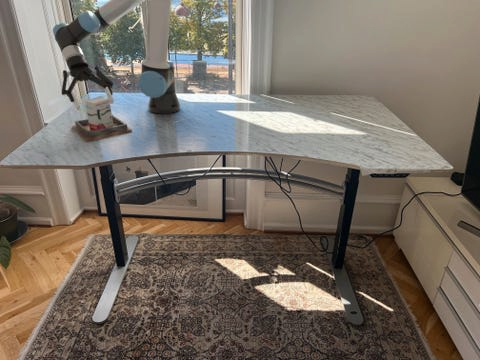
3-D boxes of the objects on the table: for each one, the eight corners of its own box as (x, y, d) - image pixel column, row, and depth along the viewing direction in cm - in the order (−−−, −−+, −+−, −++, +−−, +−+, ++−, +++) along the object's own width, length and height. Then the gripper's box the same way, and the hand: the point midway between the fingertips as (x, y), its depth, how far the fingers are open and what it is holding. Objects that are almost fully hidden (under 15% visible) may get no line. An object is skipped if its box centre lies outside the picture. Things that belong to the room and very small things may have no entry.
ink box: (98, 131, 136) (93, 102, 131) (89, 129, 138) (83, 100, 132) (114, 125, 143) (109, 97, 137) (105, 123, 145) (100, 95, 139)
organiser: (114, 119, 152) (113, 113, 151) (131, 131, 140) (131, 124, 139) (72, 127, 142) (70, 121, 140) (87, 141, 130) (85, 134, 129)
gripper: (104, 62, 149) (123, 104, 147) (42, 69, 135) (62, 115, 132) (107, 51, 143) (127, 95, 141) (42, 57, 129) (63, 105, 126)
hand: (95, 105), depth 137 cm, fingers open, 13 cm apart
